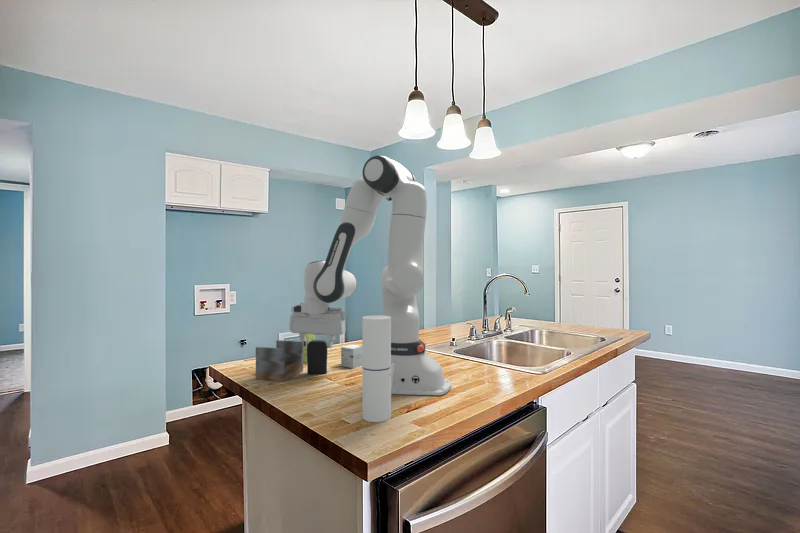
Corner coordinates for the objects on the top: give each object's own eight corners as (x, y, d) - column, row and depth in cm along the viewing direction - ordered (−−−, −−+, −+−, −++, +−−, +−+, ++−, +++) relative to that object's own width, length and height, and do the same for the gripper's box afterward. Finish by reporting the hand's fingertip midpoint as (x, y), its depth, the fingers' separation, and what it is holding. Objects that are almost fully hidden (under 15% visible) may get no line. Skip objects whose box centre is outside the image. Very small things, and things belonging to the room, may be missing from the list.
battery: (328, 371, 141) (328, 338, 141) (327, 374, 138) (327, 341, 137) (308, 371, 141) (308, 339, 140) (306, 374, 137) (306, 341, 137)
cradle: (303, 371, 141) (302, 341, 141) (282, 381, 129) (282, 349, 129) (278, 368, 144) (278, 340, 144) (255, 379, 132) (255, 347, 131)
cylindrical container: (356, 418, 99) (356, 317, 99) (374, 409, 105) (373, 314, 105) (379, 424, 95) (379, 320, 95) (396, 414, 101) (396, 316, 101)
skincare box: (340, 366, 147) (340, 346, 147) (351, 362, 153) (351, 343, 152) (353, 368, 144) (353, 348, 144) (363, 365, 149) (363, 345, 149)
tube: (310, 364, 151) (310, 312, 151) (298, 363, 152) (297, 312, 152) (316, 360, 156) (316, 310, 156) (304, 359, 157) (304, 310, 157)
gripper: (348, 307, 139) (348, 346, 139) (296, 305, 145) (296, 343, 145) (340, 309, 133) (341, 350, 133) (286, 307, 139) (287, 346, 139)
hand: (317, 346), depth 139 cm, fingers open, 8 cm apart
